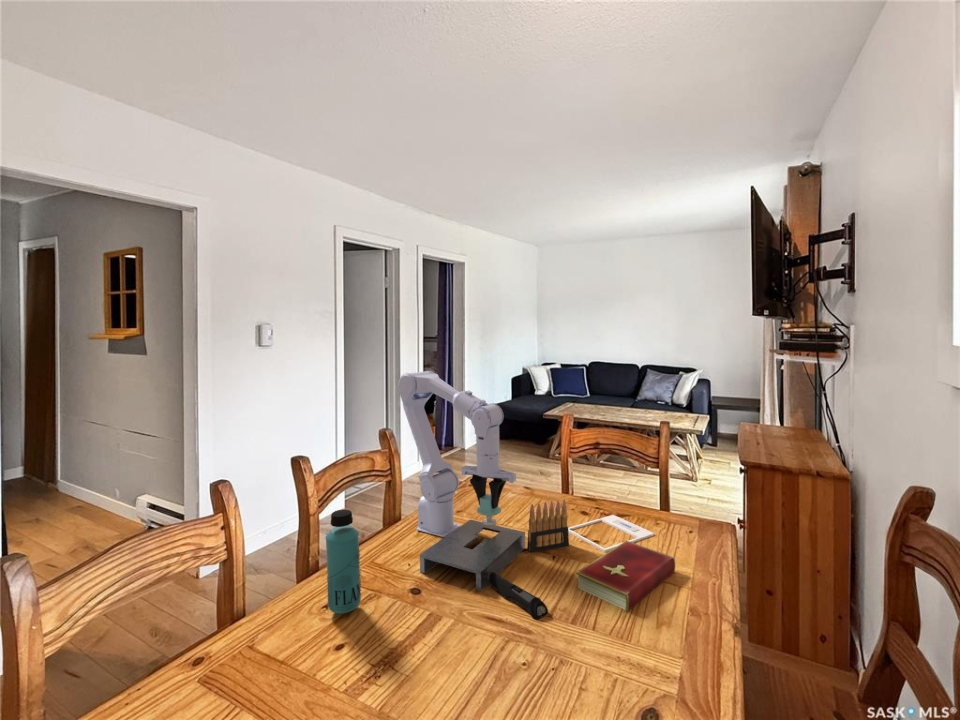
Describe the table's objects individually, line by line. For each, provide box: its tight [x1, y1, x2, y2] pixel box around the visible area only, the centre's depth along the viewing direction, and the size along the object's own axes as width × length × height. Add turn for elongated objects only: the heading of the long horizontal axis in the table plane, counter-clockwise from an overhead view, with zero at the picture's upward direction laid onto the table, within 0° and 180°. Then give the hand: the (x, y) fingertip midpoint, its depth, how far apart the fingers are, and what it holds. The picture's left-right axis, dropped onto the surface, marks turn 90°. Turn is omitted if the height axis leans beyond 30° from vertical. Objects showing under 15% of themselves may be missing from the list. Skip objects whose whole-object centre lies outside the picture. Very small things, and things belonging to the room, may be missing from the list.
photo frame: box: [568, 514, 655, 553], centre depth 126 cm, size 15×1×18 cm
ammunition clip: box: [526, 498, 570, 554], centre depth 118 cm, size 11×2×12 cm, turn 108°
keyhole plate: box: [419, 519, 526, 592], centre depth 112 cm, size 16×22×4 cm
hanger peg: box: [476, 492, 502, 526], centre depth 119 cm, size 6×6×7 cm
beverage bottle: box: [325, 508, 362, 614], centre depth 92 cm, size 6×7×20 cm
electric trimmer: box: [489, 572, 549, 620], centre depth 96 cm, size 4×16×3 cm, turn 37°
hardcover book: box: [575, 540, 676, 613], centre depth 103 cm, size 12×21×4 cm, turn 134°
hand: (488, 506), depth 119 cm, fingers closed on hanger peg, 3 cm apart
